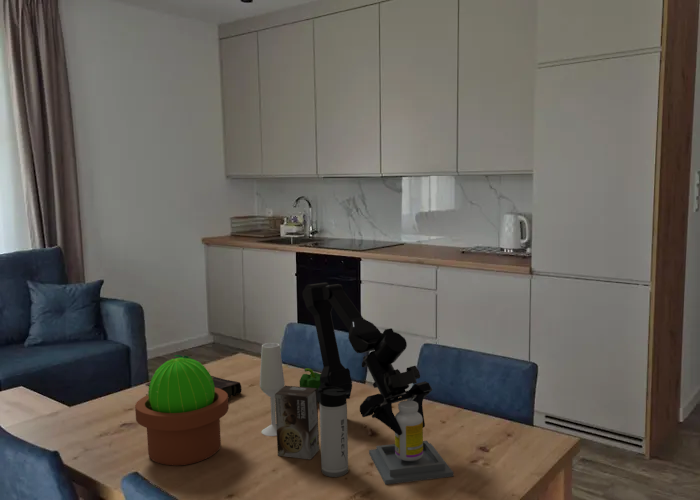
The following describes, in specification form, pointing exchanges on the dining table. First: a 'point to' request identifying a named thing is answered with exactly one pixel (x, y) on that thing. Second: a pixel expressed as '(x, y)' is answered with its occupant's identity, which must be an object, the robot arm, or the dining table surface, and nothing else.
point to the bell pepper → (310, 379)
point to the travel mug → (333, 431)
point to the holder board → (409, 465)
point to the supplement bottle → (409, 432)
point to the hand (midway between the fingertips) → (412, 430)
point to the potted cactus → (182, 413)
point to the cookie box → (297, 422)
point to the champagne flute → (271, 379)
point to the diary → (224, 386)
